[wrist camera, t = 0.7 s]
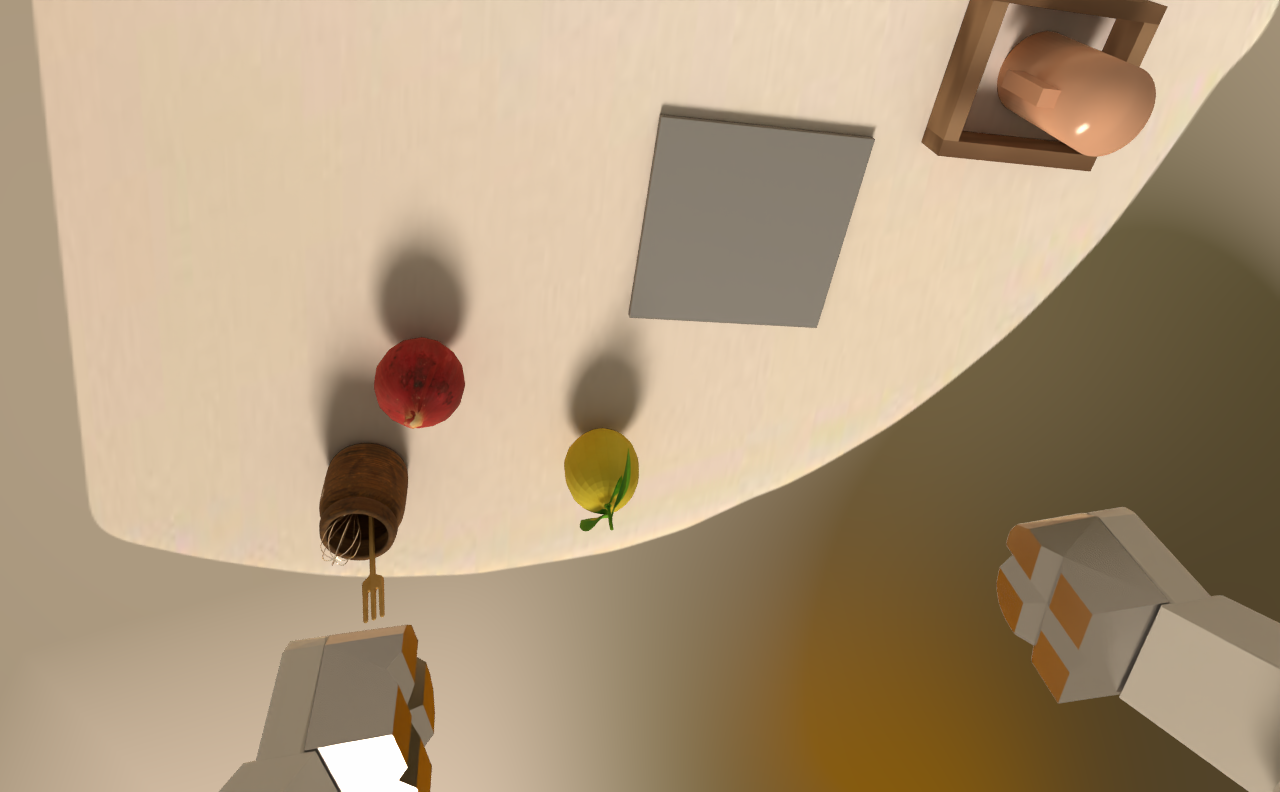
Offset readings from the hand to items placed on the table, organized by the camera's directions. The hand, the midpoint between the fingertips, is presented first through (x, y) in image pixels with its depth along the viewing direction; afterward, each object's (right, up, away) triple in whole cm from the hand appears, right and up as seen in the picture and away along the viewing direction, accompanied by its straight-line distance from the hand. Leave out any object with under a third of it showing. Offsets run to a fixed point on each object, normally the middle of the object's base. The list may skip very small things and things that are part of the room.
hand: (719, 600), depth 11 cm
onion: (-16, +6, +47) cm, 50 cm away
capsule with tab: (+24, +23, +41) cm, 53 cm away
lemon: (-4, 0, +53) cm, 53 cm away
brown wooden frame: (+23, +23, +41) cm, 53 cm away
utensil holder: (-22, -3, +52) cm, 57 cm away
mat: (+6, +14, +45) cm, 47 cm away
